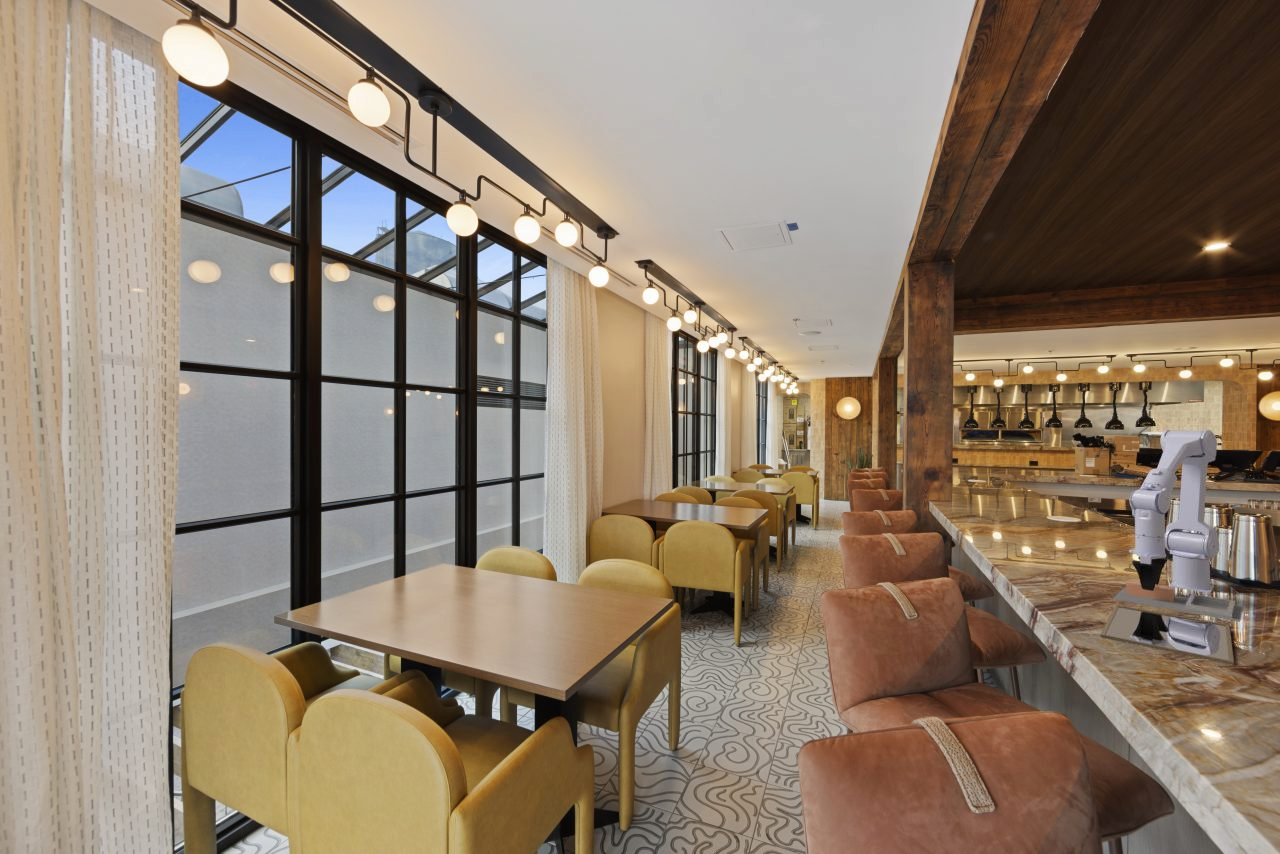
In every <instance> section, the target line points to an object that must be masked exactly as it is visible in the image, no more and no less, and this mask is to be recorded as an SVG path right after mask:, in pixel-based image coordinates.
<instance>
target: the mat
mask: <svg viewBox="0 0 1280 854" xmlns="http://www.w3.org/2000/svg"><path fill="white" fill-rule="evenodd" d="M1188 599H1189V596H1188V597H1186V596H1181V595H1175V600H1174V602H1170V601H1164V600H1158V599H1152V598H1147V597H1141V596H1135V595H1129V594H1126V586H1124V587H1123V588H1122V589H1121V590H1120V591H1119V592H1118V593H1117V594H1116V595H1115V596H1114V597H1113V598H1112V600H1115V601H1121V602H1127V603H1128V602H1129V603H1132V604H1133V603H1134V604H1140V605H1144V606H1150V607H1156V608H1159V609H1160V608H1161V609H1167V610H1172V611H1178V612H1184V613H1189V614H1194V615H1199V616H1204V617H1205V616H1206V617H1211V618H1215V619H1222V620H1227V621H1232V622H1238V623H1239V622H1240V621H1241V617H1242V611H1243V607H1244V606H1241V605H1236V604H1235V609H1234V613H1233V617H1232V618H1226V617H1221V616H1215V615H1210V614H1204V613H1198V612H1193V611H1187V610H1186V602H1187V601H1188ZM1194 605H1198V606H1204V607H1210V608H1216V609H1222V610H1227V609H1228V606H1222V605H1216V604H1210V603H1205V602H1199V601H1195V603H1194Z"/></svg>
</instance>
